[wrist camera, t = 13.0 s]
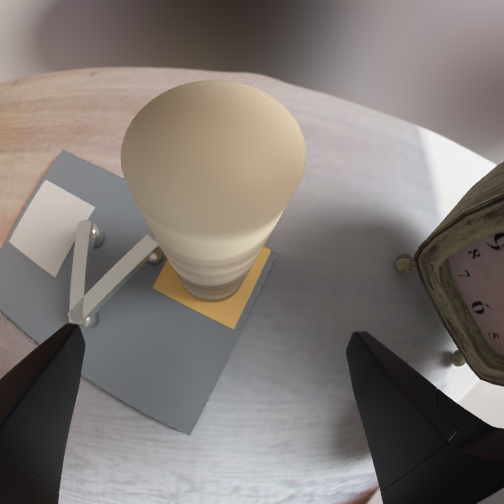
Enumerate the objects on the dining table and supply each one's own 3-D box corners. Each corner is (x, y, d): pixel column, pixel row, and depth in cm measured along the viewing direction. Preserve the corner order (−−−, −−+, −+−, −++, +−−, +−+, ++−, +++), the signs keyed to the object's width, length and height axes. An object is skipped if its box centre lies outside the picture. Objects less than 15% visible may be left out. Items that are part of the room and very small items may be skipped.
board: (190, 431, 18) (189, 436, 17) (-11, 293, 18) (-19, 291, 17) (274, 257, 22) (278, 253, 21) (66, 155, 22) (62, 149, 21)
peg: (227, 314, 19) (260, 267, 6) (167, 283, 19) (85, 181, 6) (255, 255, 21) (328, 120, 7) (198, 227, 21) (184, 64, 7)
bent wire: (118, 347, 18) (106, 348, 15) (53, 303, 18) (36, 299, 15) (167, 250, 20) (162, 239, 18) (101, 215, 20) (89, 201, 18)
